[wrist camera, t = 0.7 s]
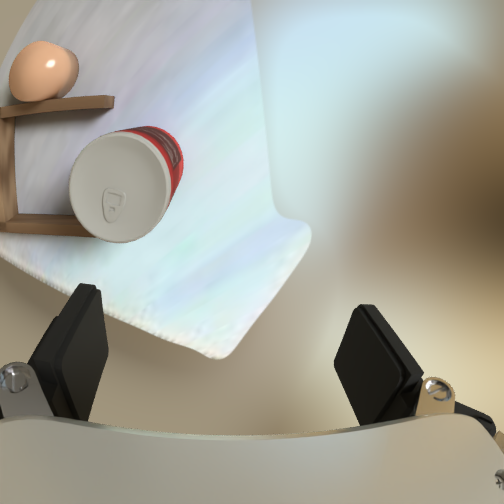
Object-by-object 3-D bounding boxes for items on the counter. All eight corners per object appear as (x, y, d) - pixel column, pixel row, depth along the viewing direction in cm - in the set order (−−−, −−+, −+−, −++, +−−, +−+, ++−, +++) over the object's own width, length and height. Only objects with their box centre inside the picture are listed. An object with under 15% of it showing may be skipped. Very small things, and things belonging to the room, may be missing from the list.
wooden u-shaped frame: (8, 107, 23) (-7, 108, 21) (114, 96, 26) (104, 95, 23) (12, 222, 29) (-1, 231, 26) (111, 227, 31) (102, 237, 29)
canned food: (114, 203, 30) (74, 245, 20) (111, 128, 27) (63, 137, 17) (184, 201, 31) (172, 244, 21) (185, 124, 28) (169, 128, 18)
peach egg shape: (37, 52, 22) (13, 47, 17) (82, 45, 23) (62, 36, 18) (31, 103, 24) (6, 105, 20) (75, 98, 25) (54, 97, 21)
